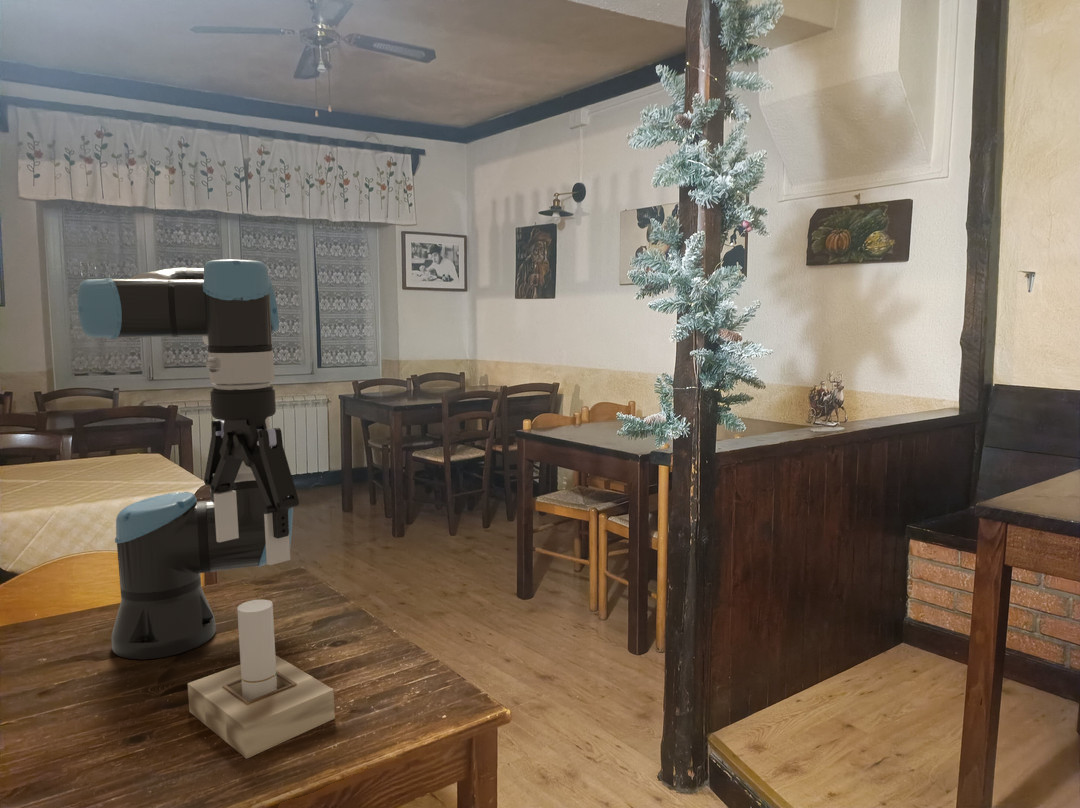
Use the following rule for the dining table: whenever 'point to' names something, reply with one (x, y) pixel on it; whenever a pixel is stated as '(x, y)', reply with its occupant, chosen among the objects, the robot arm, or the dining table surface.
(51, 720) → the dining table surface
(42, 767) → the dining table surface
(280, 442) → the robot arm
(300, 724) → the socket board
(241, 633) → the tube
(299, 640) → the dining table surface
